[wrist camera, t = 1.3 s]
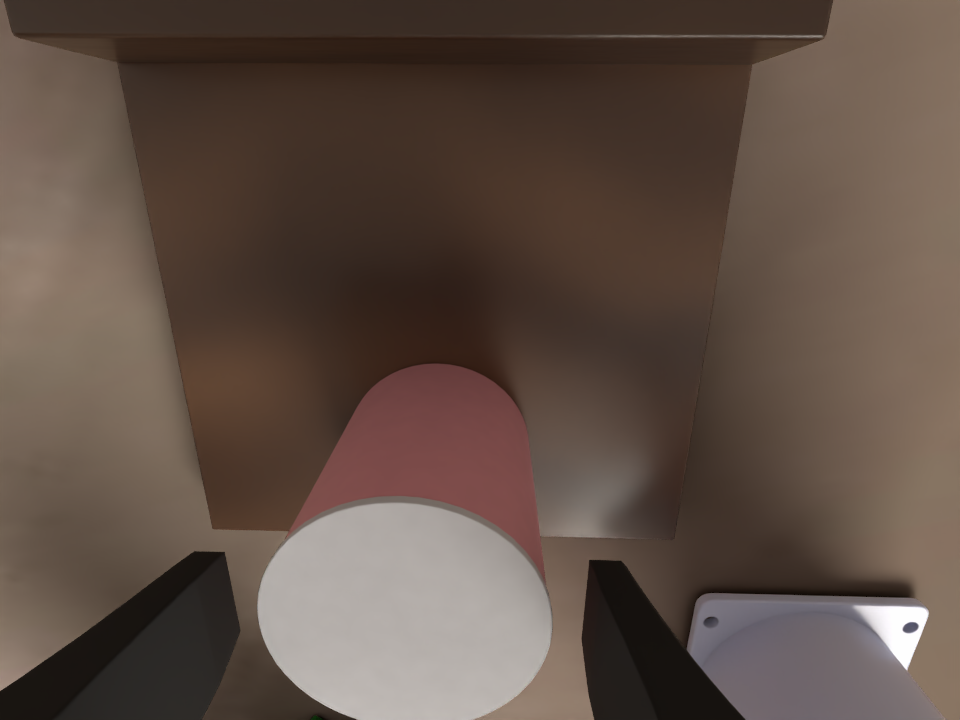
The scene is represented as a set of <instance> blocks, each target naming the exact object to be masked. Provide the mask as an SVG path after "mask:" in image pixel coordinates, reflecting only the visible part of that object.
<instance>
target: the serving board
mask: <svg viewBox="0 0 960 720" xmlns="http://www.w3.org/2000/svg"><path fill="white" fill-rule="evenodd" d="M4 3H5V7H6V11H7V15H8V18H9V22H10V26H11V30H12V33H13V34H14V36H16V37H18V38H20V39H24V40H29V41H33V42H37V43H41V44H45V45H49V46H53V47H57V48H61V49H65V50H69V51H73V52H77V53H81V54H85V55H89V56H94V57H98V58H102V59H106V60H110V61H114V62H117V63H118V68H119V73H120V78H121V82H122V87H123V92H124V97H125V102H126V107H127V112H128V117H129V122H130V126H131V131H132V136H133V141H134V146H135V151H136V156H137V161H138V166H139V171H140V175H141V180H142V185H143V190H144V195H145V200H146V205H147V210H148V215H149V220H150V224H151V229H152V234H153V239H154V244H155V249H156V254H157V259H158V264H159V269H160V273H161V278H162V283H163V288H164V293H165V298H166V303H167V308H168V313H169V318H170V322H171V327H172V332H173V337H174V342H175V347H176V352H177V357H178V362H179V367H180V371H181V376H182V381H183V386H184V391H185V396H186V401H187V406H188V411H189V415H190V420H191V425H192V430H193V435H194V440H195V445H196V450H197V455H198V460H199V464H200V469H201V474H202V479H203V484H204V489H205V494H206V499H207V504H208V509H209V513H210V518H211V523H212V528H213V529H222V530H266V531H290V529H291V527H292V525H293V523H294V522H295V520H296V518H297V516H298V514H299V512H300V511H301V509H302V507H303V505H304V503H305V501H306V500H307V498H308V496H309V494H310V492H311V491H312V489H313V487H314V485H315V483H316V481H317V480H318V478H319V476H320V474H321V472H322V470H323V469H324V467H325V465H326V463H327V461H328V459H329V458H330V456H331V454H332V452H333V450H334V448H335V447H336V445H337V443H338V441H339V439H340V437H341V436H342V434H343V432H344V430H345V428H346V427H347V425H348V423H349V421H350V419H351V417H352V416H353V414H354V412H355V410H356V408H357V406H358V405H359V403H360V402H361V400H362V399H363V397H364V396H365V395H366V394H367V392H368V391H369V390H370V389H371V388H372V387H373V386H374V385H376V384H377V383H378V382H379V381H381V380H382V379H384V378H385V377H387V376H389V375H390V374H392V373H395V372H397V371H399V370H401V369H405V368H408V367H411V366H416V365H422V364H436V363H437V364H450V365H455V366H460V367H464V368H467V369H470V370H473V371H475V372H477V373H479V374H481V375H483V376H485V377H487V378H488V379H490V380H492V381H493V382H495V383H496V384H497V385H498V386H499V387H501V388H502V389H503V390H504V391H505V392H506V393H507V394H508V395H509V396H510V397H511V398H512V400H513V401H514V403H515V404H516V406H517V407H518V409H519V410H520V412H521V414H522V416H523V419H524V422H525V425H526V428H527V432H528V438H529V446H530V454H531V463H532V471H533V480H534V488H535V496H536V505H537V513H538V522H539V530H540V537H574V538H618V539H661V540H673V539H674V537H675V531H676V525H677V519H678V512H679V506H680V500H681V494H682V488H683V482H684V476H685V470H686V464H687V458H688V452H689V446H690V439H691V433H692V427H693V421H694V415H695V409H696V403H697V397H698V391H699V385H700V379H701V372H702V366H703V360H704V354H705V348H706V342H707V336H708V330H709V324H710V318H711V312H712V306H713V299H714V293H715V287H716V281H717V275H718V269H719V263H720V257H721V251H722V245H723V239H724V233H725V226H726V220H727V214H728V208H729V202H730V196H731V190H732V184H733V178H734V172H735V166H736V160H737V153H738V147H739V141H740V135H741V129H742V123H743V117H744V111H745V105H746V99H747V93H748V87H749V80H750V74H751V68H752V64H755V63H757V62H760V61H763V60H766V59H769V58H772V57H774V56H777V55H780V54H783V53H786V52H789V51H791V50H794V49H797V48H800V47H803V46H806V45H808V44H811V43H814V42H817V41H820V40H822V39H824V37H825V35H826V32H827V27H828V23H829V18H830V13H831V8H832V3H833V0H4Z"/></svg>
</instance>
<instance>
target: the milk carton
mask: <svg viewBox="0 0 960 720" xmlns="http://www.w3.org/2000/svg"><path fill="white" fill-rule="evenodd" d="M310 720H323V719H321V718H319V717H318V716H316V715H314V716H313V717H312V718H311V719H310Z"/></svg>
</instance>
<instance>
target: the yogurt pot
mask: <svg viewBox="0 0 960 720" xmlns="http://www.w3.org/2000/svg"><path fill="white" fill-rule="evenodd" d="M257 611H258V622H259V626H260V630H261V634H262V637H263V639H264V642H265V644H266V646H267V649H268V651H269V652H270V654H271V656H272V657H273V659H274V661H275V662H276V664H277V665H278V666H279V667H280V669H281V670H282V671H283V672H284V674H285V675H286V676H287V677H288V678H289V679H290V680H291V681H292V682H293V683H294V684H295V685H296V686H297V687H298V688H300V689H301V690H302V691H304V692H305V693H306V694H308V695H309V696H310V697H312V698H313V699H315V700H317V701H318V702H320V703H322V704H323V705H325V706H327V707H329V708H331V709H333V710H335V711H337V712H339V713H341V714H344V715H346V716H349V717H352V718H355V719H357V720H472V719H476V718H478V717H481V716H483V715H485V714H488V713H490V712H492V711H494V710H496V709H497V708H499V707H501V706H503V705H504V704H506V703H507V702H509V701H510V700H511V699H513V698H514V697H515V696H517V695H518V694H519V693H520V692H521V691H522V690H523V689H524V688H525V687H526V686H527V685H528V684H529V683H530V682H531V681H532V679H533V678H534V677H535V675H536V674H537V673H538V671H539V669H540V667H541V666H542V664H543V662H544V660H545V658H546V655H547V652H548V649H549V646H550V642H551V636H552V630H553V627H552V608H551V603H550V597H549V593H548V590H547V587H546V580H545V572H544V564H543V555H542V547H541V538H540V530H539V522H538V513H537V505H536V496H535V488H534V480H533V471H532V463H531V454H530V446H529V438H528V432H527V428H526V425H525V422H524V419H523V416H522V414H521V412H520V410H519V409H518V407H517V406H516V404H515V403H514V401H513V400H512V398H511V397H510V396H509V395H508V394H507V393H506V392H505V391H504V390H503V389H502V388H501V387H499V386H498V385H497V384H496V383H495V382H493V381H492V380H490V379H488V378H487V377H485V376H483V375H481V374H479V373H477V372H475V371H473V370H470V369H467V368H464V367H460V366H455V365H450V364H437V363H436V364H422V365H416V366H411V367H408V368H405V369H401V370H399V371H397V372H395V373H392V374H390V375H389V376H387V377H385V378H384V379H382V380H381V381H379V382H378V383H377V384H376V385H374V386H373V387H372V388H371V389H370V390H369V391H368V392H367V394H366V395H365V396H364V397H363V399H362V400H361V402H360V403H359V405H358V406H357V408H356V410H355V412H354V414H353V416H352V417H351V419H350V421H349V423H348V425H347V427H346V428H345V430H344V432H343V434H342V436H341V437H340V439H339V441H338V443H337V445H336V447H335V448H334V450H333V452H332V454H331V456H330V458H329V459H328V461H327V463H326V465H325V467H324V469H323V470H322V472H321V474H320V476H319V478H318V480H317V481H316V483H315V485H314V487H313V489H312V491H311V492H310V494H309V496H308V498H307V500H306V501H305V503H304V505H303V507H302V509H301V511H300V512H299V514H298V516H297V518H296V520H295V522H294V523H293V525H292V527H291V529H290V531H289V533H288V534H287V536H286V538H285V540H284V541H283V542H282V543H281V544H280V546H279V547H278V549H277V550H276V552H275V553H274V555H273V556H272V558H271V560H270V561H269V563H268V565H267V568H266V570H265V572H264V574H263V576H262V579H261V583H260V587H259V591H258V602H257Z"/></svg>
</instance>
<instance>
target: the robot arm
mask: <svg viewBox="0 0 960 720" xmlns="http://www.w3.org/2000/svg"><path fill="white" fill-rule="evenodd" d="M928 614H929V611H928V609H927V608H926V607H925V605H924V604H923V603H922V602H921V601H919V600H918V599H914V598H893V597H852V596H812V595H772V594H732V593H707V594H704V595H702V596H700V597H699V598H698V599H697V601H696V603H695V608H694V614H693V619H692V624H691V629H690V634H689V640H688V645H687V650H686V649H685V647H684V646H683V645H682V643H681V642H680V641H679V640H678V638H677V637H676V636H675V635H674V633H673V632H672V631H671V629H670V628H669V627H668V625H667V624H666V623H665V621H664V620H663V619H662V617H661V616H660V615H659V613H658V612H657V610H656V609H655V608H654V606H653V605H652V603H651V602H650V601H649V599H648V598H647V596H646V595H645V594H644V592H643V591H642V589H641V588H640V586H639V585H638V583H637V582H636V580H635V579H634V577H633V576H632V574H631V573H630V571H629V570H628V568H627V567H626V566H625V564H624V563H623V562H622V561H610V560H589V570H588V580H587V590H586V600H585V610H584V620H583V631H582V646H583V654H584V662H585V670H586V678H587V685H588V693H589V698H590V702H591V707H592V711H593V716H594V720H946V719H945V718H944V716H943V715H942V714H941V713H940V711H939V710H938V709H937V708H936V706H935V705H934V704H933V703H932V701H931V700H930V699H929V698H928V696H927V695H926V694H925V693H924V691H923V690H922V689H921V688H920V686H919V685H918V684H917V683H916V681H915V680H914V679H913V678H912V676H911V675H910V674H909V673H908V671H907V669H908V666H909V664H910V661H911V659H912V656H913V654H914V651H915V648H916V646H917V643H918V641H919V638H920V636H921V633H922V631H923V628H924V626H925V623H926V620H927V618H928ZM708 617H711V618H710V619H706V618H708ZM239 633H240V626H239V621H238V616H237V611H236V606H235V601H234V596H233V591H232V586H231V581H230V576H229V571H228V566H227V561H226V556H225V552H197V551H194V552H193V553H191V554H190V555H189V556H187V557H186V558H184V559H183V560H181V561H180V562H179V563H177V564H176V565H175V566H173V567H172V568H171V569H169V570H168V571H167V572H165V573H164V574H163V575H161V576H160V577H159V578H157V579H156V580H155V581H153V582H152V583H151V584H149V585H148V586H147V587H145V588H144V589H143V590H141V591H140V592H139V593H137V594H136V595H135V596H134V597H132V598H131V599H130V600H128V601H127V602H126V603H124V604H123V605H121V606H120V607H119V608H117V609H116V610H115V611H113V612H112V613H111V614H109V615H108V616H107V617H105V618H104V619H103V620H101V621H100V622H99V623H97V624H96V625H95V626H93V627H92V628H91V629H89V630H88V631H87V632H85V633H84V634H82V635H81V636H80V637H78V638H77V639H75V640H74V641H72V642H71V643H70V644H68V645H67V646H65V647H64V648H62V649H61V650H59V651H58V652H57V653H55V654H54V655H52V656H51V657H49V658H48V659H47V660H45V661H44V662H42V663H41V664H39V665H38V666H37V667H35V668H34V669H32V670H31V671H29V672H28V673H27V674H25V675H24V676H22V677H21V678H19V679H18V680H16V681H15V682H13V683H12V684H10V685H9V686H7V687H6V688H4V689H3V690H1V691H0V720H202V718H203V716H204V714H205V712H206V710H207V708H208V706H209V704H210V702H211V701H212V699H213V697H214V695H215V693H216V691H217V689H218V687H219V685H220V682H221V680H222V677H223V675H224V672H225V670H226V667H227V665H228V662H229V660H230V657H231V654H232V652H233V649H234V646H235V644H236V641H237V638H238V636H239Z"/></svg>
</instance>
